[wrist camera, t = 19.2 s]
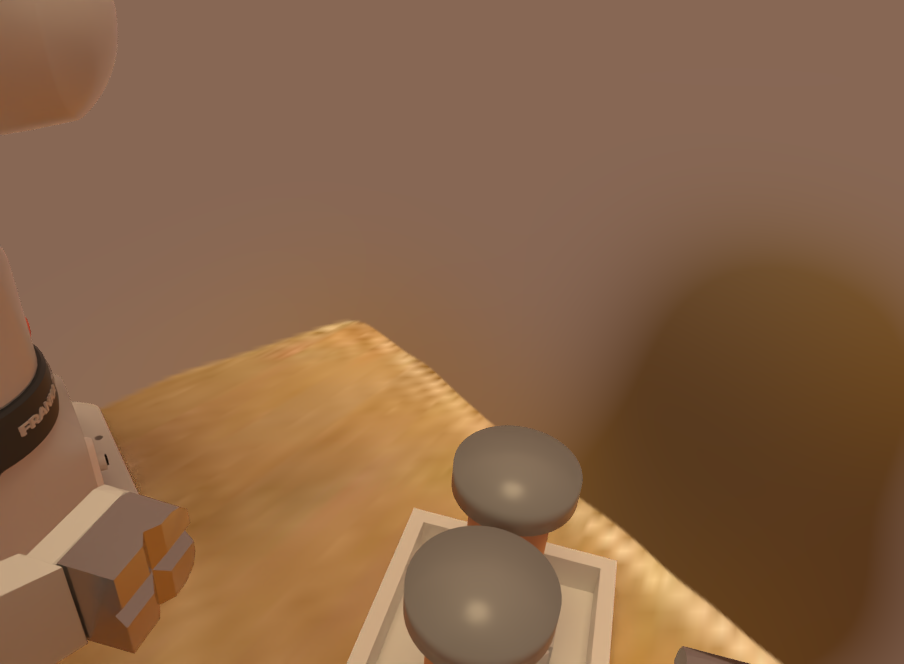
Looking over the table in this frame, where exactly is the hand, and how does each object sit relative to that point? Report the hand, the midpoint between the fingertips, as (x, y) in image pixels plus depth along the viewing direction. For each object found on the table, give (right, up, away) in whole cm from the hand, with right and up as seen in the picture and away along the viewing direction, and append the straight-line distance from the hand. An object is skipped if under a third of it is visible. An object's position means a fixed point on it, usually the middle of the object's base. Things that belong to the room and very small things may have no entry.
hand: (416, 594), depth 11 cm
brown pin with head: (+1, -18, +25) cm, 31 cm away
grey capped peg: (+3, -15, +31) cm, 35 cm away
